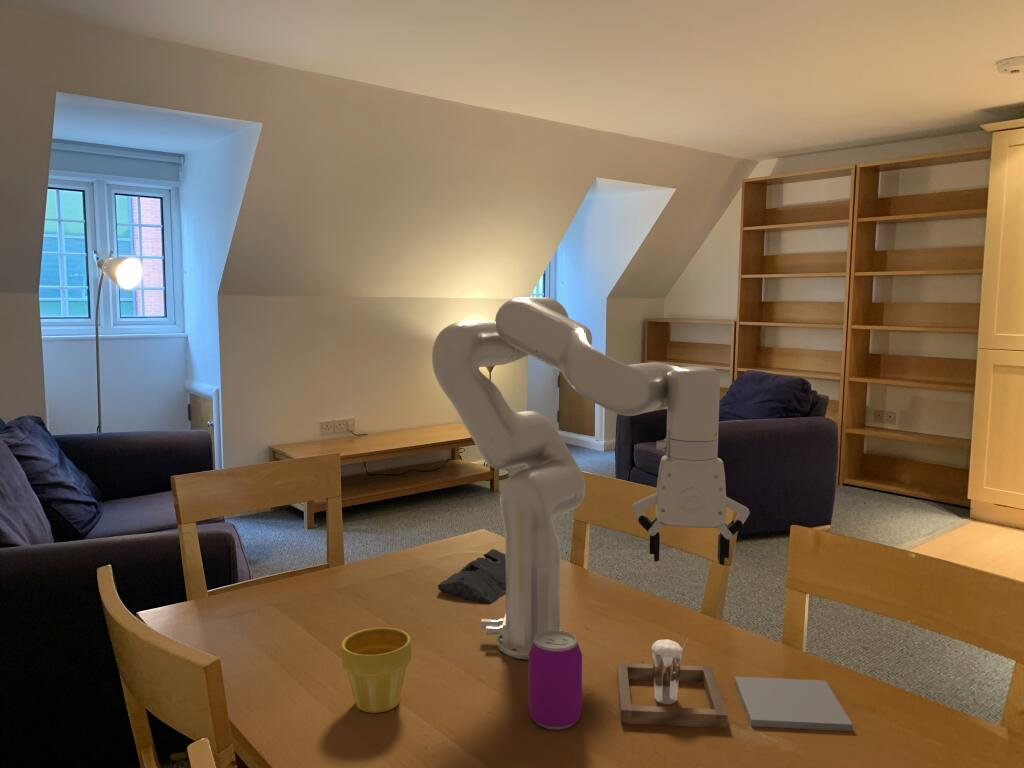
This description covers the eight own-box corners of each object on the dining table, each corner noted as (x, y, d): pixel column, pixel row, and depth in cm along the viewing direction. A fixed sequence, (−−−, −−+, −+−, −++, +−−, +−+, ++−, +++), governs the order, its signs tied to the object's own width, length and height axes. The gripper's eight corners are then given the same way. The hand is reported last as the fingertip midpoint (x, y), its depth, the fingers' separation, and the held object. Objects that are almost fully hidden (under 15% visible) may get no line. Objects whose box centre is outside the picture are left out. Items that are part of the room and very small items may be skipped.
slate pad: (750, 726, 113) (751, 719, 113) (734, 682, 126) (734, 676, 126) (852, 731, 112) (852, 724, 112) (825, 686, 125) (825, 680, 125)
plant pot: (348, 686, 125) (346, 626, 124) (414, 684, 125) (413, 625, 124) (337, 721, 115) (335, 656, 113) (409, 719, 115) (408, 654, 114)
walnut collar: (620, 723, 114) (621, 709, 114) (617, 674, 129) (617, 662, 129) (727, 728, 113) (727, 715, 112) (711, 678, 127) (711, 666, 127)
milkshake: (686, 709, 118) (688, 644, 117) (650, 705, 119) (651, 641, 118) (686, 694, 122) (687, 632, 121) (651, 690, 123) (652, 629, 122)
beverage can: (527, 731, 112) (528, 650, 110) (529, 704, 119) (529, 627, 118) (582, 733, 111) (583, 651, 110) (580, 705, 119) (581, 628, 118)
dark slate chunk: (425, 596, 164) (425, 573, 163) (476, 564, 184) (476, 544, 183) (490, 608, 157) (490, 585, 157) (536, 574, 177) (536, 553, 176)
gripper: (633, 452, 116) (630, 565, 118) (755, 456, 113) (750, 572, 115) (633, 443, 123) (630, 549, 125) (747, 446, 121) (743, 555, 123)
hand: (688, 560), depth 120 cm, fingers open, 9 cm apart
